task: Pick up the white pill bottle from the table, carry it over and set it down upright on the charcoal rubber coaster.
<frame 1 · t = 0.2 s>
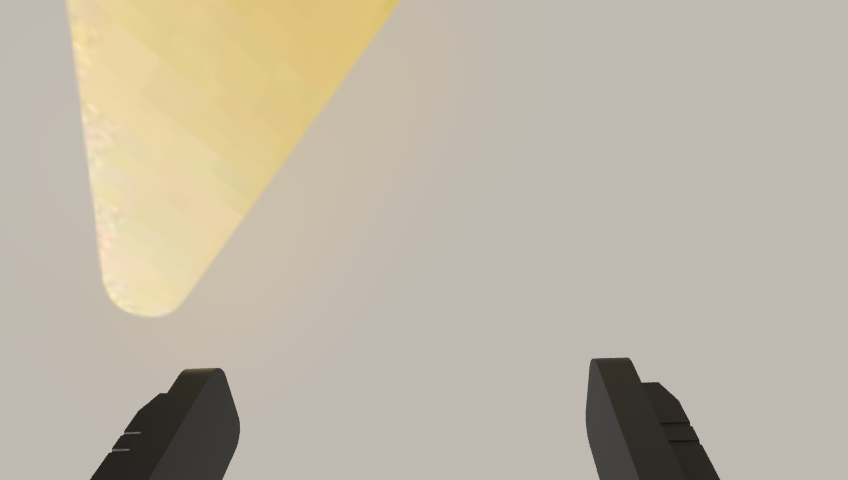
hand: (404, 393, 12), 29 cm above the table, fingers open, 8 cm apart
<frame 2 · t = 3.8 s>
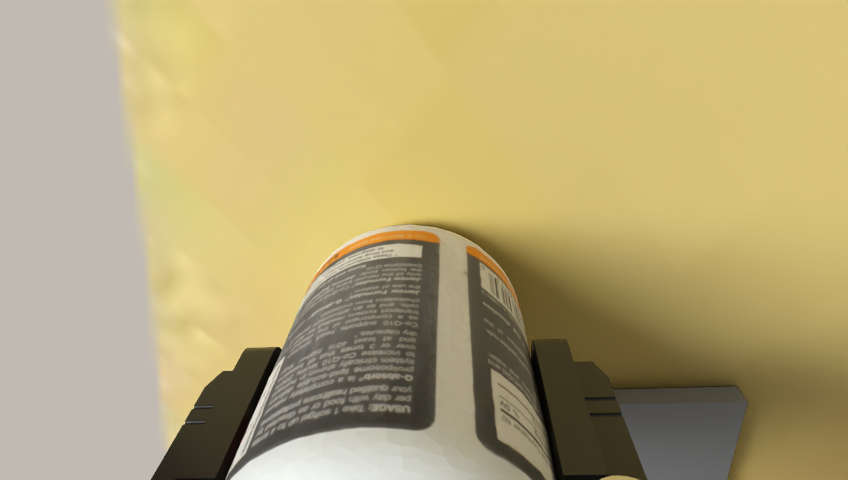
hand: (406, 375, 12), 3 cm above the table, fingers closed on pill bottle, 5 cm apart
pill bottle: (415, 305, 15), on the table, touching gripper
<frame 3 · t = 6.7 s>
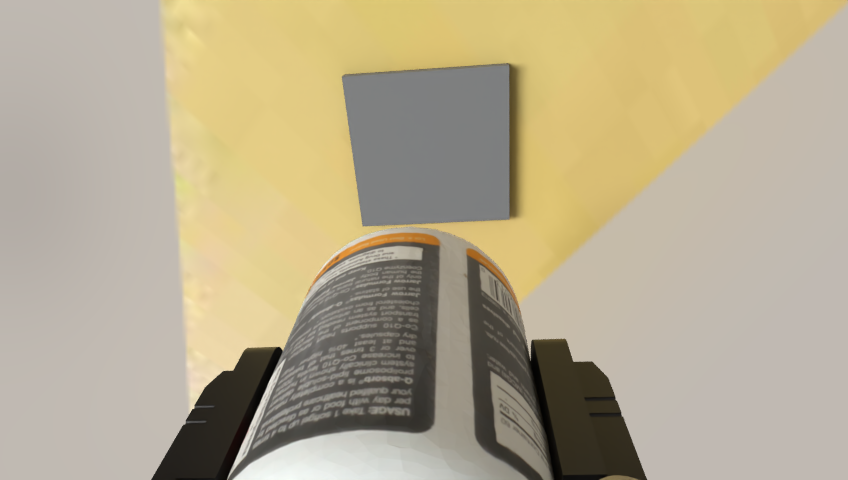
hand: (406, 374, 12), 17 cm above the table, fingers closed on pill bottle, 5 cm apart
coaster: (430, 148, 28), on the table
pill bottle: (415, 307, 15), point 15 cm above the table, touching gripper
when the fingers open (5 cm above the table, at t = 9.7 s): pill bottle drops 1 cm, resting on coaster.
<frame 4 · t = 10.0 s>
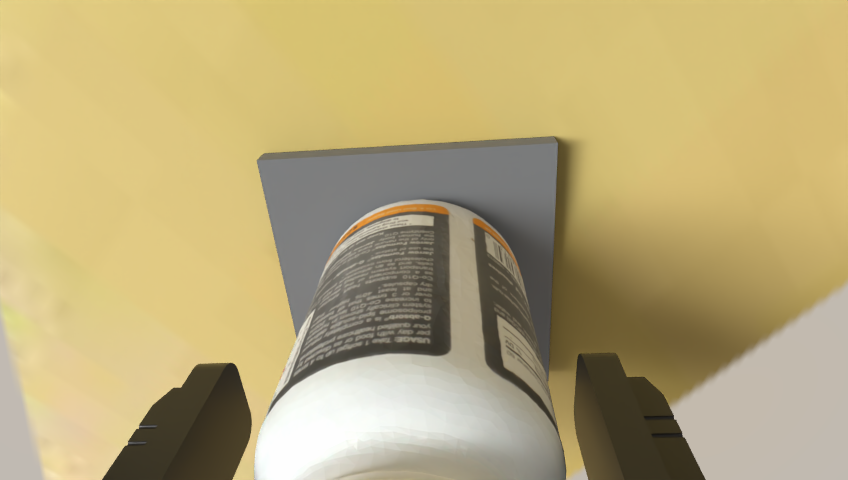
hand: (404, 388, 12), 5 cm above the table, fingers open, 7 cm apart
coaster: (417, 271, 16), on the table
pill bottle: (425, 276, 16), resting on coaster
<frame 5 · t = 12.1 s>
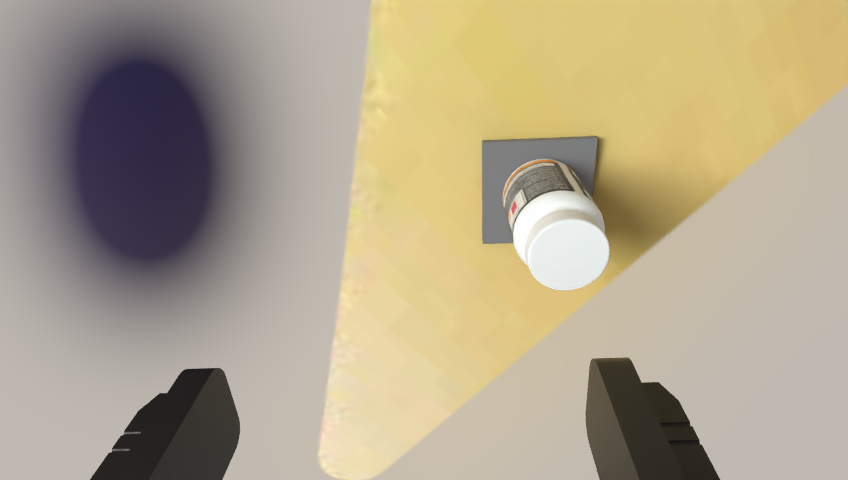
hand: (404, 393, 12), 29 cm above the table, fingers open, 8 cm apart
coaster: (536, 190, 40), on the table
pill bottle: (540, 192, 39), resting on coaster
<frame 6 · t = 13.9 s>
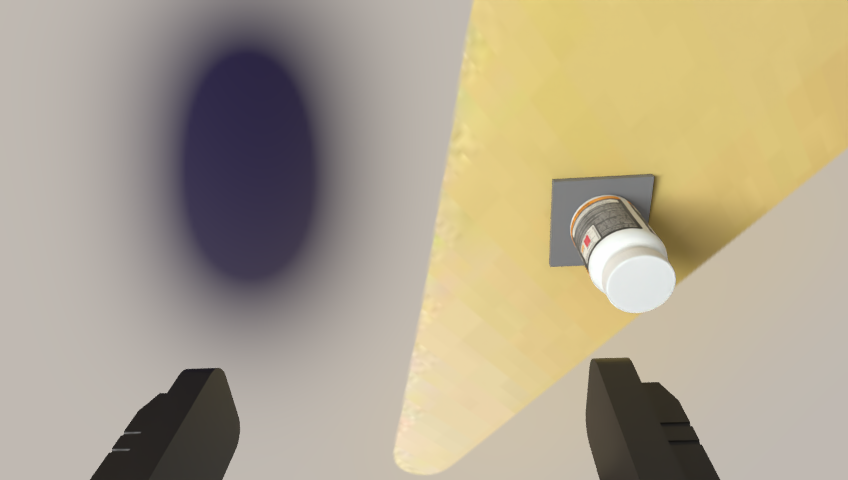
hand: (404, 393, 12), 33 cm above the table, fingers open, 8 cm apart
coaster: (598, 220, 46), on the table
pill bottle: (602, 222, 45), resting on coaster
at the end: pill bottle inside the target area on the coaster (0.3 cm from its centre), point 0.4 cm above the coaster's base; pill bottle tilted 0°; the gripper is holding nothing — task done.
